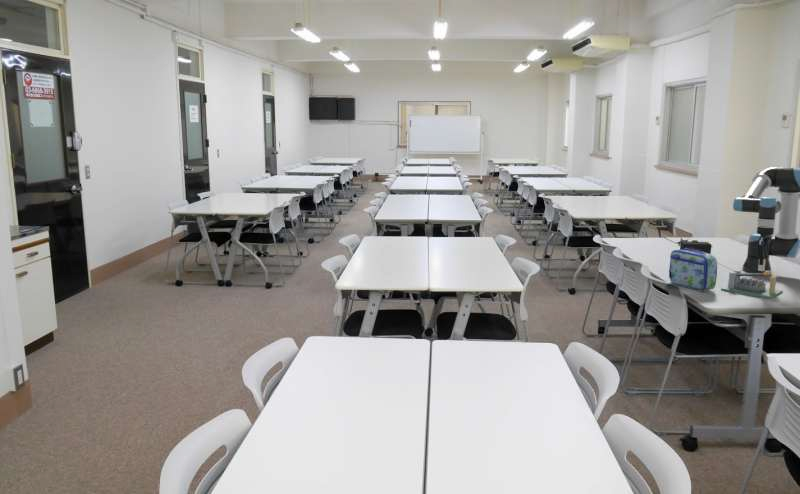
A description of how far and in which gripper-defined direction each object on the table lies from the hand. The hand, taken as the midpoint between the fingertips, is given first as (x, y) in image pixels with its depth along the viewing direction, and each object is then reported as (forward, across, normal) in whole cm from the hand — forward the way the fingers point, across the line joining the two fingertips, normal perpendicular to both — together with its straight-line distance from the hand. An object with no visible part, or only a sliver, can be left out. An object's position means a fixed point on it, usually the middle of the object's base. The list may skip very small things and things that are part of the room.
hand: (761, 270), depth 318 cm
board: (+12, -1, -4) cm, 13 cm away
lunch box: (+12, +13, -30) cm, 35 cm away
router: (+11, -20, -42) cm, 48 cm away
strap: (+3, -1, -4) cm, 5 cm away
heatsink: (+12, -1, -4) cm, 13 cm away
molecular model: (+11, -54, -63) cm, 83 cm away
